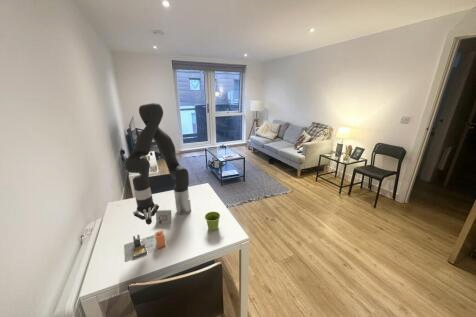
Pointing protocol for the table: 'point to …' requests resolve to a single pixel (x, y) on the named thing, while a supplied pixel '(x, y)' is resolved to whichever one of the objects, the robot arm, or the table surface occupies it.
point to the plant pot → (212, 220)
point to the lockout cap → (160, 239)
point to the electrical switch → (163, 216)
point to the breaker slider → (136, 240)
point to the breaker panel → (141, 248)
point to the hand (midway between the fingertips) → (149, 223)
